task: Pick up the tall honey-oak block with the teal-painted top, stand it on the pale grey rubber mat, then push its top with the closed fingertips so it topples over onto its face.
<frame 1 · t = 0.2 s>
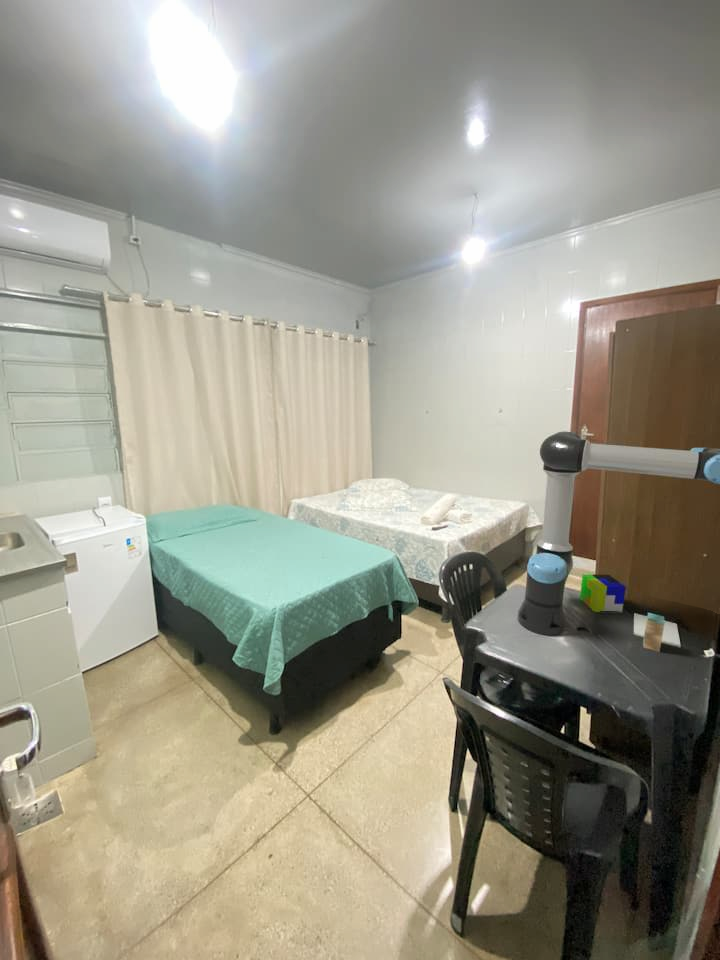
puzzle toy: (600, 605, 148), on the table
mat: (655, 629, 132), on the table
block: (651, 646, 123), on the table
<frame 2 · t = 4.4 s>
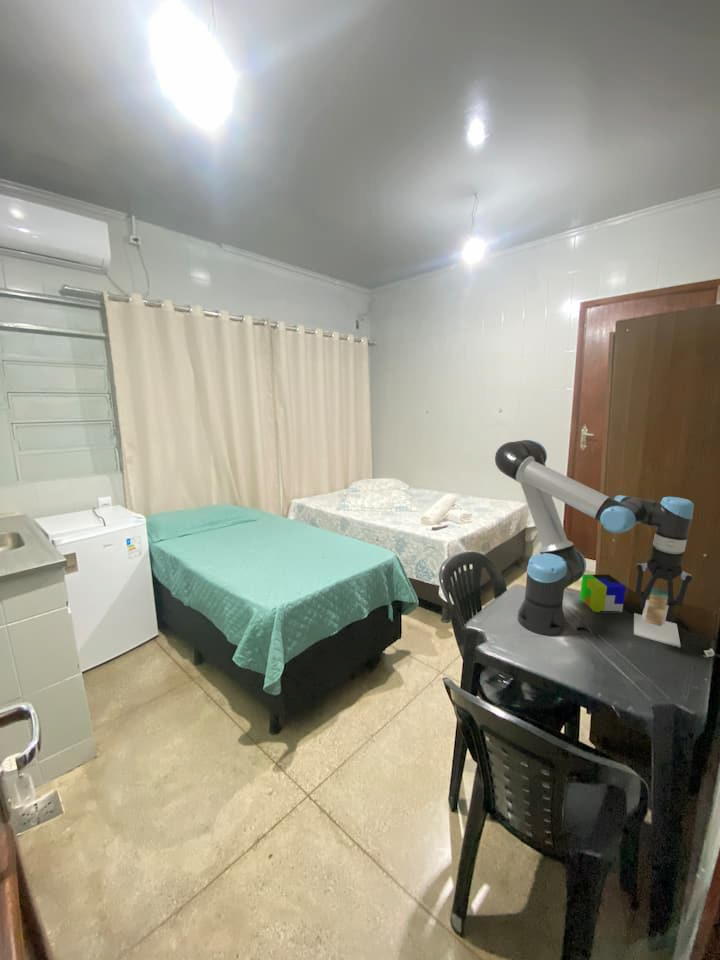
hand: (653, 619, 122), 9 cm above the table, fingers closed on block, 4 cm apart
block: (652, 621, 122), point 8 cm above the table, touching gripper
everything else where it was.
when the fingers open (1 cm above the table, at t = 8.5 s): block stays where it is, resting on mat.
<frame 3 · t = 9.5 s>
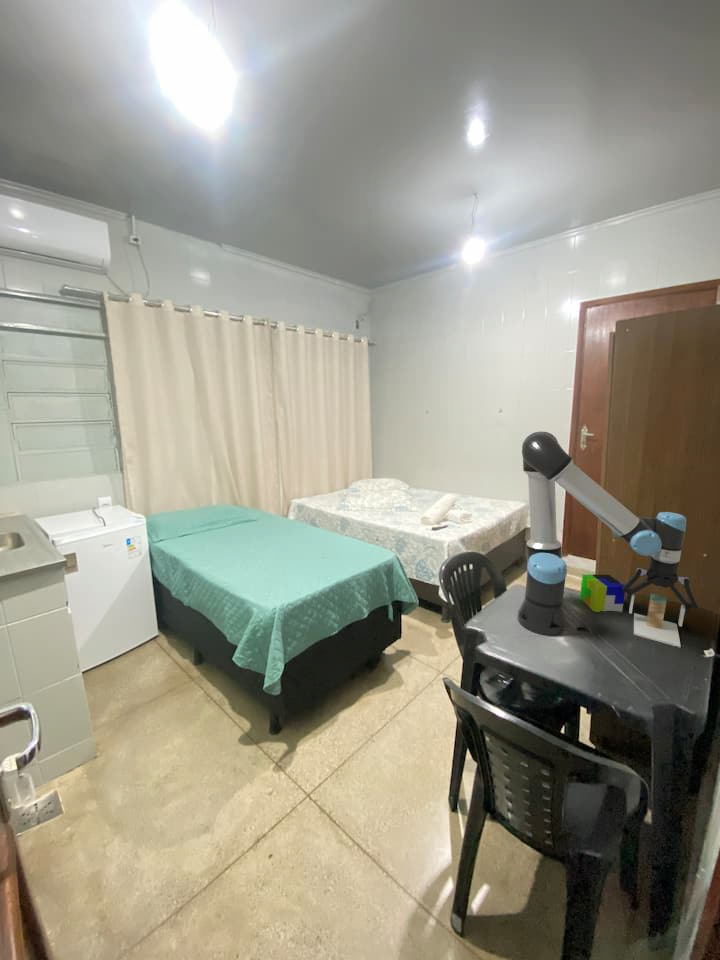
hand: (654, 618, 134), 3 cm above the table, fingers open, 13 cm apart
block: (653, 624, 134), point 1 cm above the table, touching mat
everything else where it was.
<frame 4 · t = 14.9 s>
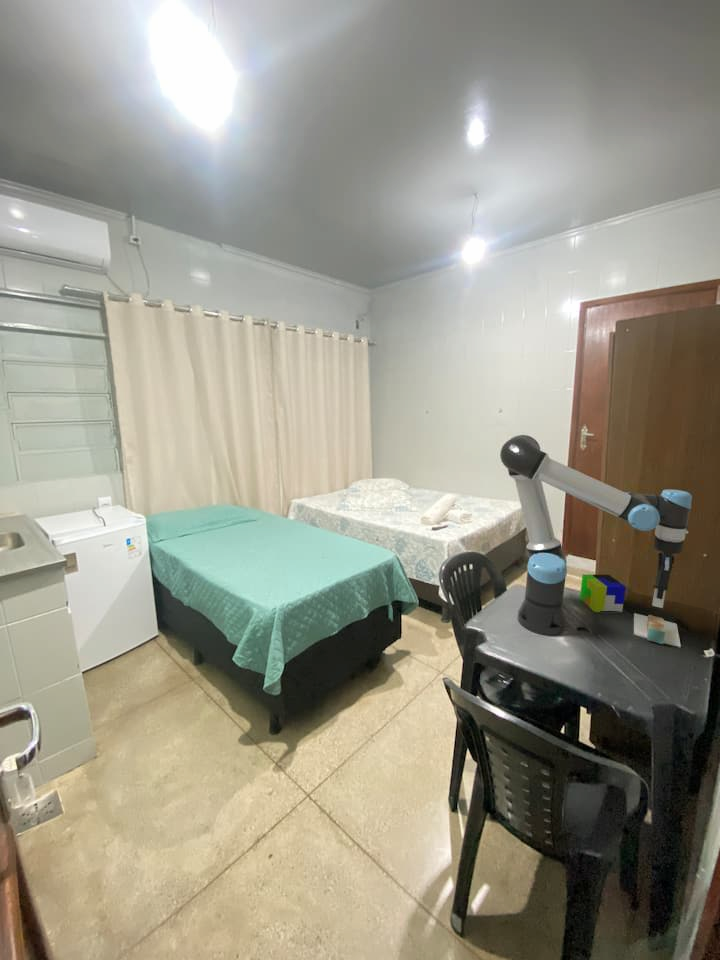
hand: (657, 605, 130), 9 cm above the table, fingers closed
block: (654, 621, 132), point 3 cm above the table, tilted 90°, touching mat
everything else where it was.
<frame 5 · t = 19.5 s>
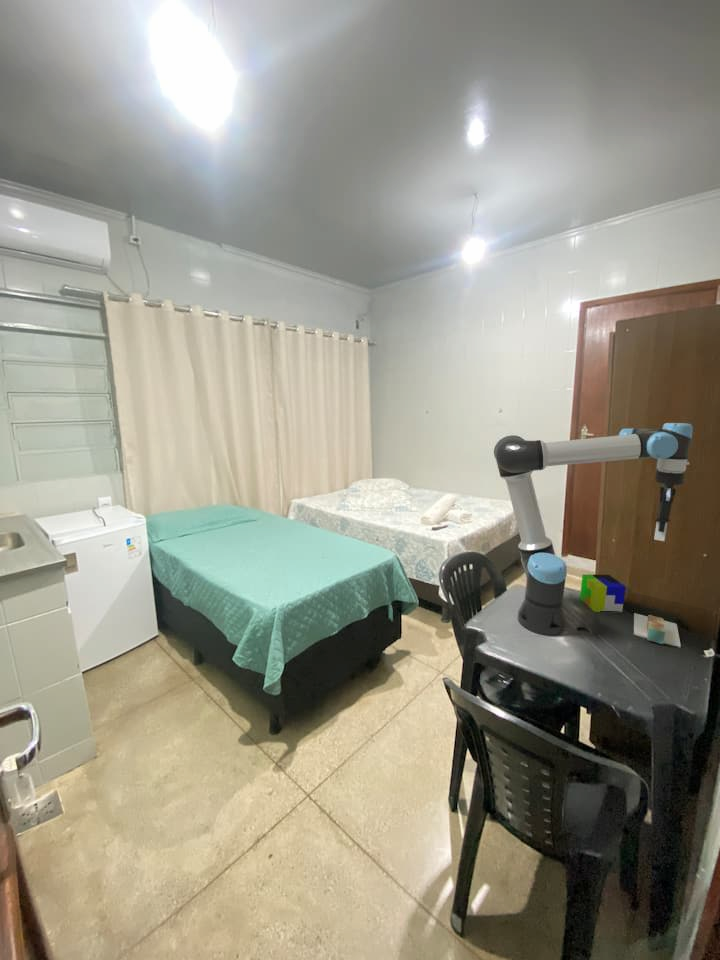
hand: (659, 539, 133), 29 cm above the table, fingers closed
nothing on the table moved.
at the end: block tilted 90°; block inside the target area (1.0 cm from its centre), point 2.6 cm above the table; the gripper is holding nothing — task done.
